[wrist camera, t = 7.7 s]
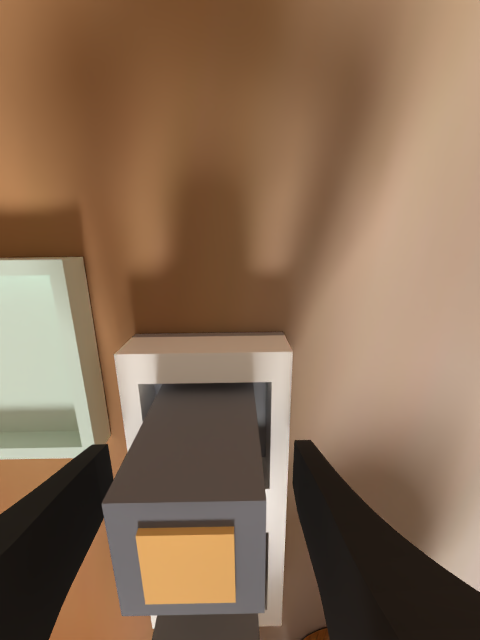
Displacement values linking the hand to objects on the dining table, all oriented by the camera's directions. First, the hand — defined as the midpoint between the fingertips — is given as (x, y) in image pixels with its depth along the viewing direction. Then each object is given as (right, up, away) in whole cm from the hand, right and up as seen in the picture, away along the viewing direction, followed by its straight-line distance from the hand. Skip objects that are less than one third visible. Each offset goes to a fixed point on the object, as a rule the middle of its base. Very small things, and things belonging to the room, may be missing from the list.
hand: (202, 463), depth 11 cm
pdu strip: (0, -3, +5) cm, 5 cm away
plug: (0, +1, +3) cm, 3 cm away
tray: (-10, +4, +3) cm, 11 cm away
